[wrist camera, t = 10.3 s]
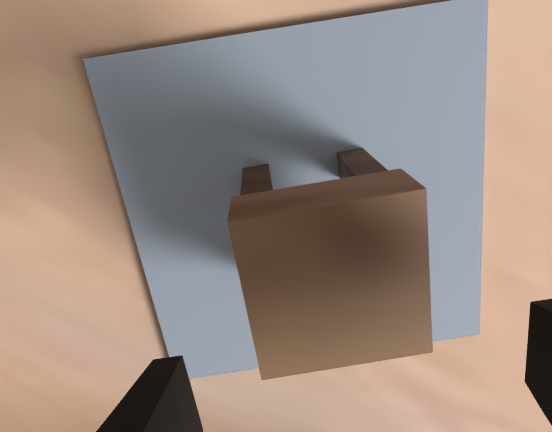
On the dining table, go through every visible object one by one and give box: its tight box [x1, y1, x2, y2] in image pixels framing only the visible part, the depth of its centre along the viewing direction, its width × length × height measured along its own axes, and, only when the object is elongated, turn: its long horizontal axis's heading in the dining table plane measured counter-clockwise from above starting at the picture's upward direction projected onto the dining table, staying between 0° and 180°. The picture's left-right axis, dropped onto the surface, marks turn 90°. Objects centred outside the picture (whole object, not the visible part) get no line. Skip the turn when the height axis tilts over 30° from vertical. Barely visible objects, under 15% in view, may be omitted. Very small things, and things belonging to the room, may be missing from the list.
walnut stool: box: [227, 148, 433, 380], centre depth 14 cm, size 5×5×6 cm
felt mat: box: [83, 0, 488, 379], centre depth 17 cm, size 14×14×1 cm
